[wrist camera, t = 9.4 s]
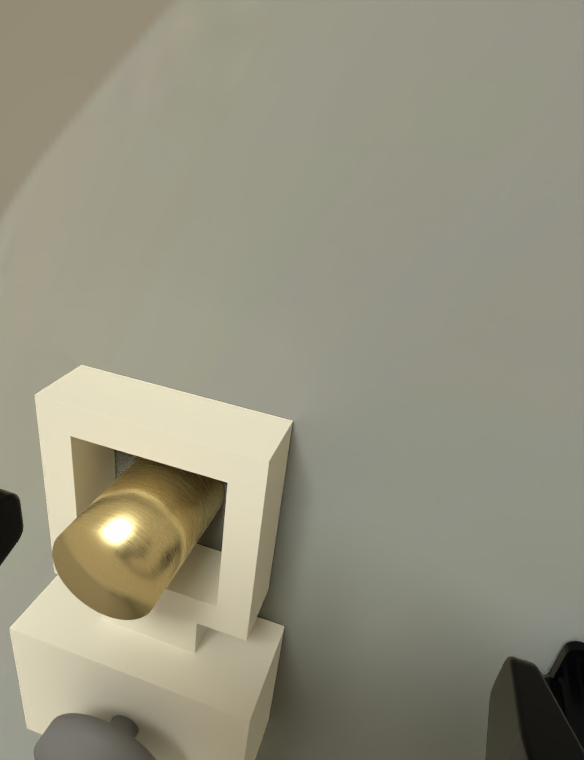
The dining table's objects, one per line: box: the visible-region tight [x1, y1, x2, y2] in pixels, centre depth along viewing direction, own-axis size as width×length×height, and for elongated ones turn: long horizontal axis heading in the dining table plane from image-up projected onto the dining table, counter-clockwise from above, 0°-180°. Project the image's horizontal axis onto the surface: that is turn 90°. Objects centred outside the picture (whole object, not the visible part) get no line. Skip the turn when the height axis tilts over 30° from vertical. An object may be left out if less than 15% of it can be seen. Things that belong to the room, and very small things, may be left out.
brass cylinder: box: [52, 457, 224, 620], centre depth 23 cm, size 4×4×6 cm
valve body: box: [9, 365, 293, 760], centre depth 25 cm, size 12×20×8 cm, turn 172°
